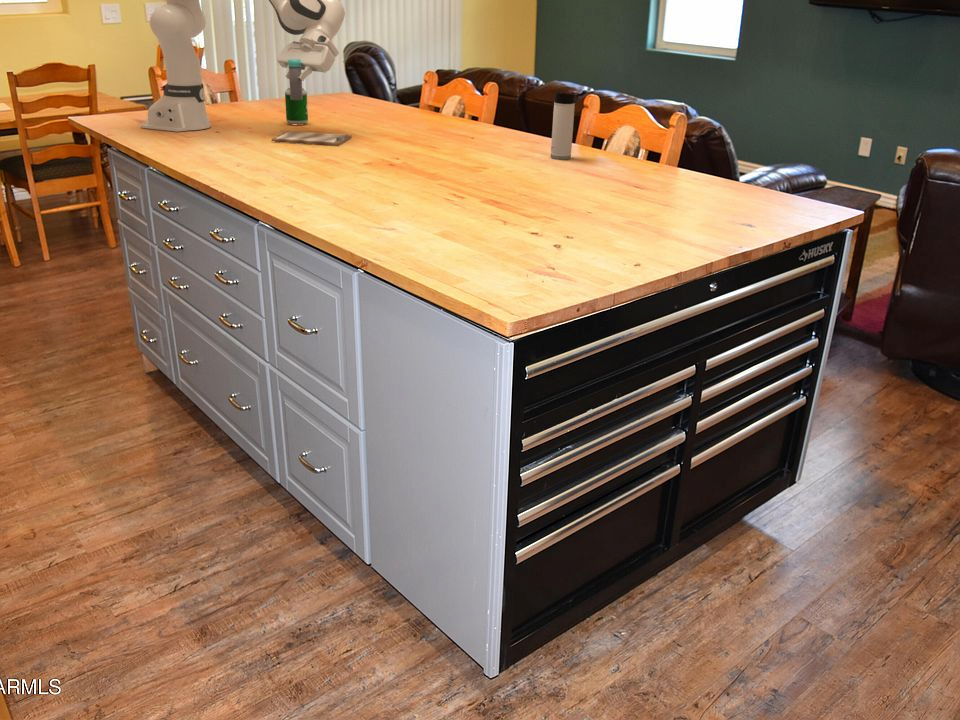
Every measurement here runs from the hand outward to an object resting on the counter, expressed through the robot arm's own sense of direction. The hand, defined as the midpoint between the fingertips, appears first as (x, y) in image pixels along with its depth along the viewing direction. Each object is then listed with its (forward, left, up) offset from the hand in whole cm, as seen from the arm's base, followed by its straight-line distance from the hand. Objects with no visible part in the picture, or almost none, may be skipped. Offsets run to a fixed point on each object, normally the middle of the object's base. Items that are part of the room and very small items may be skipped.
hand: (294, 78), depth 283 cm
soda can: (-10, +29, -19) cm, 36 cm away
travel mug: (+85, -1, -19) cm, 87 cm away
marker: (0, +1, -6) cm, 6 cm away
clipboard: (+4, +3, -19) cm, 20 cm away
